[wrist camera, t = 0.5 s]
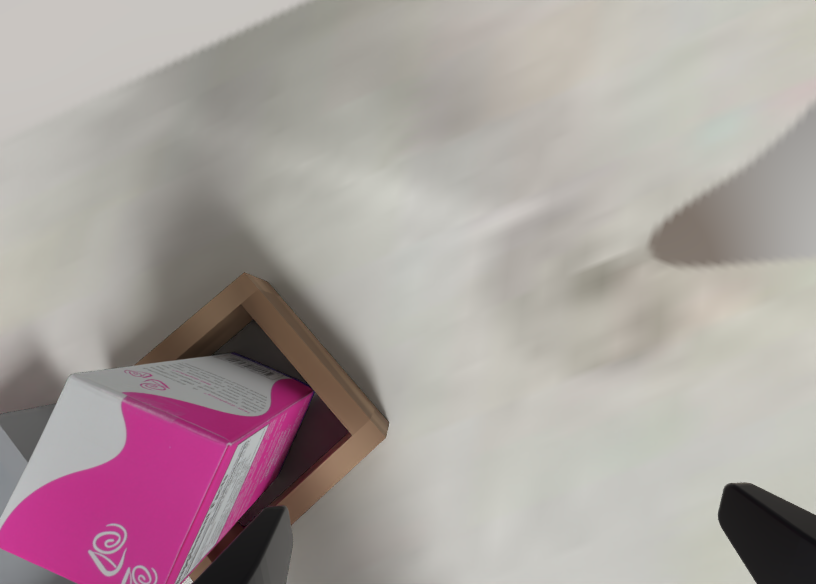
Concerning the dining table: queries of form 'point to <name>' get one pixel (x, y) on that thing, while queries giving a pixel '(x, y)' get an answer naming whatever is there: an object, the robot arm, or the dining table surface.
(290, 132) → the dining table surface
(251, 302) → the holder
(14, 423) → the tray
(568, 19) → the dining table surface
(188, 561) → the supplement box
